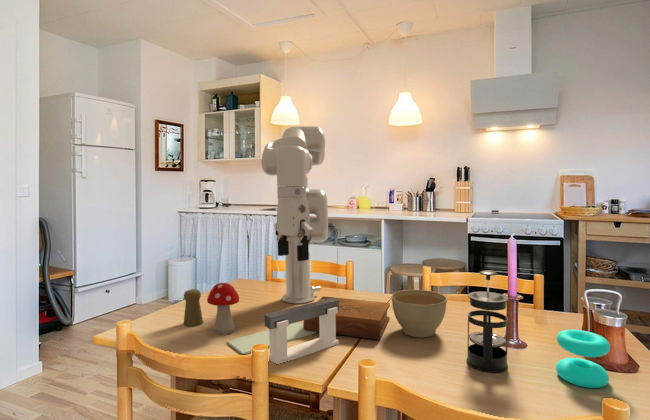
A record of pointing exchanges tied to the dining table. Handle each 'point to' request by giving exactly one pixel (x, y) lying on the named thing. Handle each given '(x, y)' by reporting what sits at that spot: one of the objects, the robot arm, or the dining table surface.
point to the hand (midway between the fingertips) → (292, 257)
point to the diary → (356, 318)
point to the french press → (487, 331)
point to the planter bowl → (419, 311)
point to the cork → (192, 308)
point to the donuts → (578, 368)
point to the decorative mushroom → (223, 306)
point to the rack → (327, 339)
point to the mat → (267, 338)
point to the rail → (300, 312)
